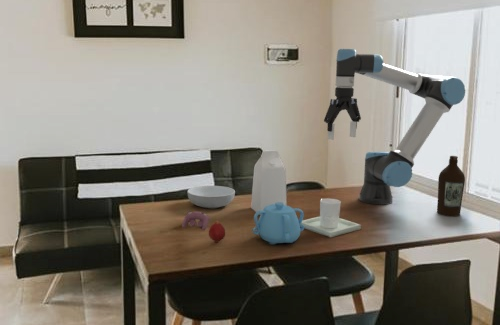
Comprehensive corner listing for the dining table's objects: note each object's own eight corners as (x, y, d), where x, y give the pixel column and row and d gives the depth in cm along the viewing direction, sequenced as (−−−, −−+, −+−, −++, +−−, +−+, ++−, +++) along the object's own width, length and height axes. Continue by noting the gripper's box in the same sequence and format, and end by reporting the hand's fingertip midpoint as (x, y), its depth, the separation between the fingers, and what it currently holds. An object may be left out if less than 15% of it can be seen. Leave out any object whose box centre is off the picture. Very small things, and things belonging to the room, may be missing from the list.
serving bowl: (242, 203, 243) (243, 188, 242) (220, 215, 225) (221, 198, 223) (202, 197, 252) (202, 183, 250) (178, 208, 233) (177, 192, 232)
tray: (328, 218, 222) (328, 214, 222) (360, 229, 209) (360, 224, 209) (298, 225, 212) (298, 221, 211) (330, 237, 199) (330, 232, 198)
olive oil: (432, 209, 239) (437, 153, 235) (457, 210, 239) (462, 154, 234) (439, 216, 229) (444, 158, 224) (465, 217, 228) (470, 159, 224)
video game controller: (208, 231, 207) (211, 214, 209) (204, 229, 203) (207, 211, 205) (184, 229, 210) (188, 211, 212) (180, 227, 206) (183, 208, 208)
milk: (276, 205, 240) (278, 147, 235) (286, 212, 229) (288, 152, 224) (250, 207, 236) (252, 148, 231) (259, 214, 226) (261, 153, 221)
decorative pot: (309, 238, 197) (310, 202, 195) (286, 250, 184) (287, 211, 182) (271, 230, 207) (272, 195, 204) (247, 240, 194) (248, 203, 191)
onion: (208, 239, 193) (208, 218, 192) (224, 239, 194) (225, 218, 192) (208, 245, 188) (208, 223, 186) (225, 245, 188) (225, 223, 187)
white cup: (338, 229, 206) (340, 204, 204) (318, 228, 208) (319, 202, 206) (339, 223, 213) (341, 199, 212) (319, 222, 215) (320, 197, 213)
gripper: (330, 88, 213) (327, 141, 217) (371, 87, 229) (368, 136, 233) (316, 87, 219) (314, 139, 223) (357, 86, 234) (354, 134, 238)
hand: (341, 138), depth 228 cm, fingers open, 13 cm apart
